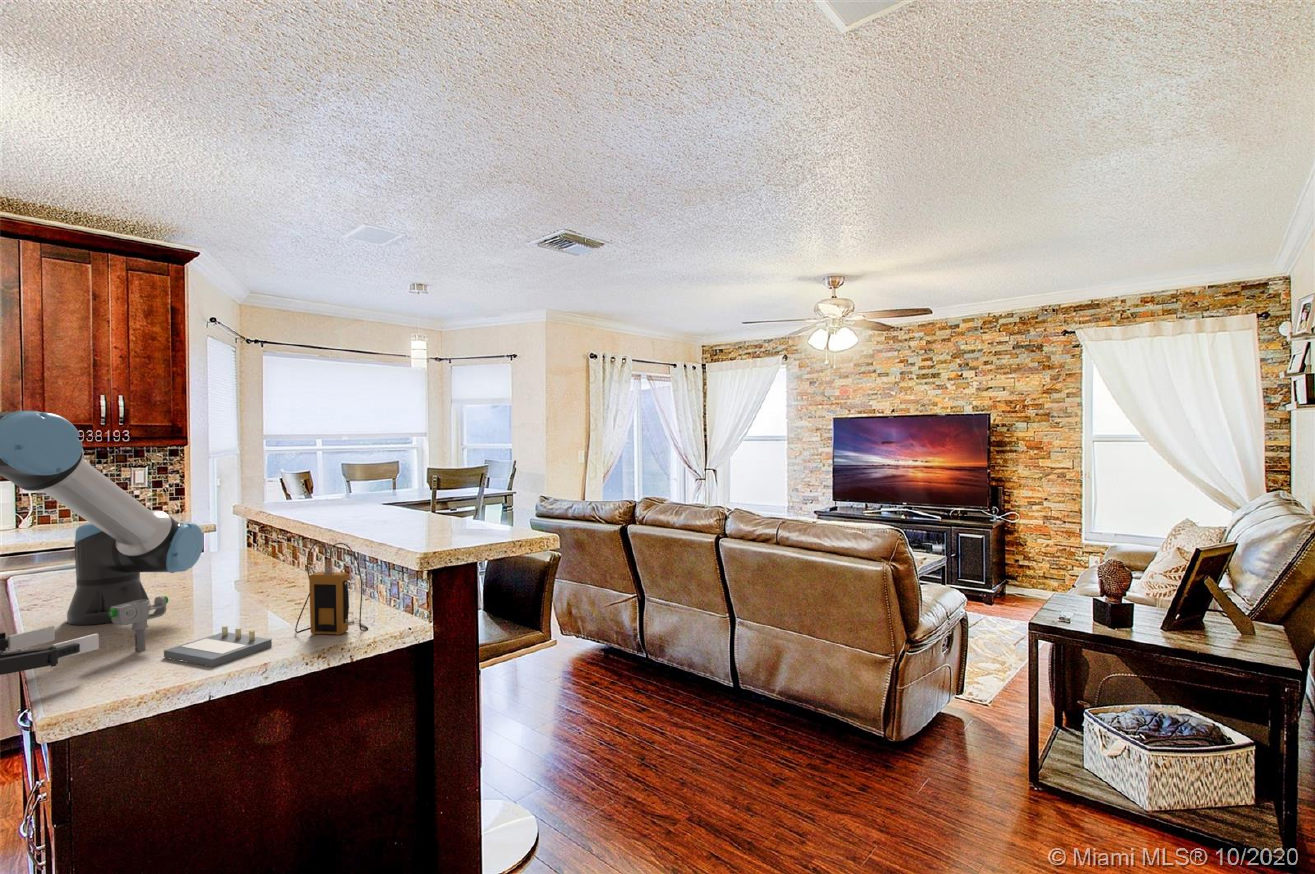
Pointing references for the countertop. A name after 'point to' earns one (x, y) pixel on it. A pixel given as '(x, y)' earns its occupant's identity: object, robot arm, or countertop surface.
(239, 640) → the board
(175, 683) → the countertop surface
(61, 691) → the countertop surface
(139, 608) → the mechanical component
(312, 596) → the multimeter
